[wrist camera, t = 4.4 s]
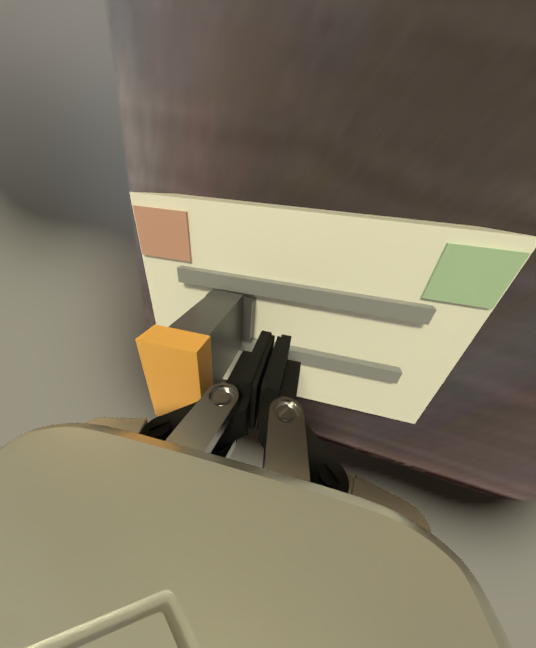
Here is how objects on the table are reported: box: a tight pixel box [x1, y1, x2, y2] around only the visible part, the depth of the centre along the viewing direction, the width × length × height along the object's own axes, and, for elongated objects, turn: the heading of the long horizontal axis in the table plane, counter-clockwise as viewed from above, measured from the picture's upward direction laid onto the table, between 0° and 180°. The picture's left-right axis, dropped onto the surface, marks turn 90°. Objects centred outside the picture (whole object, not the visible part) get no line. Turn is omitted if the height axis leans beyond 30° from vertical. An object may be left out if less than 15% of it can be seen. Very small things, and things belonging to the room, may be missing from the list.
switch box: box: [130, 192, 536, 424], centre depth 17 cm, size 22×14×6 cm, turn 85°
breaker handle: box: [135, 290, 256, 416], centre depth 13 cm, size 3×5×8 cm
